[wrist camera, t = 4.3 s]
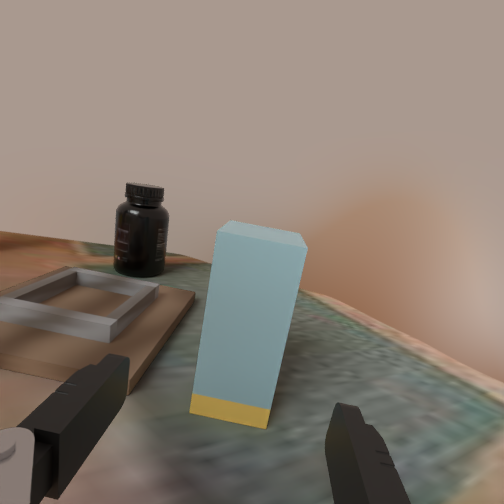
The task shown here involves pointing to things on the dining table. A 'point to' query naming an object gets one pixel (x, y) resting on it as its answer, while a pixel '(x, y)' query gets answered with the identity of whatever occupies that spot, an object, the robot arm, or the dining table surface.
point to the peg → (246, 322)
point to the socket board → (86, 322)
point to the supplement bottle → (141, 232)
